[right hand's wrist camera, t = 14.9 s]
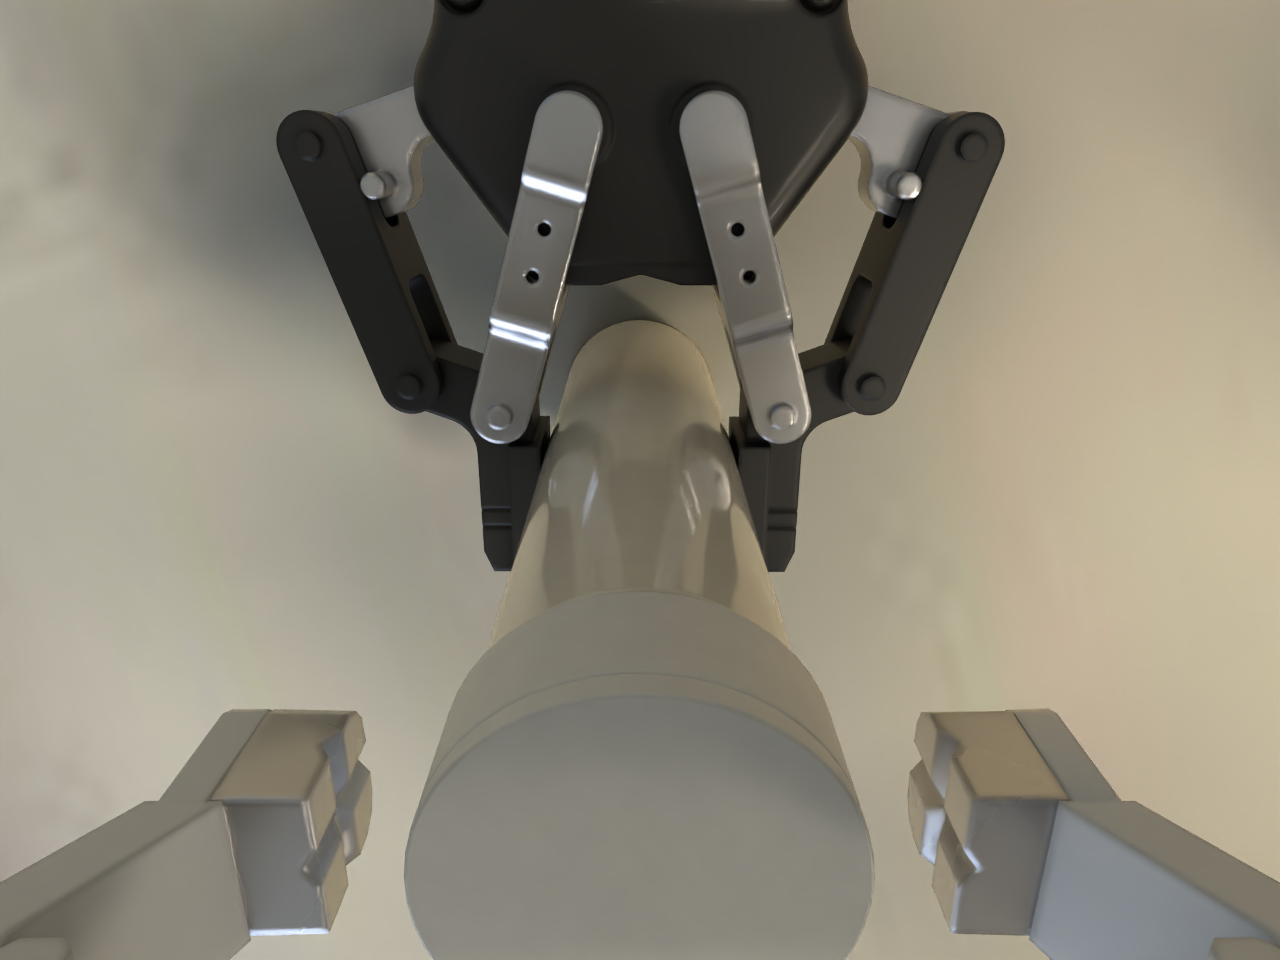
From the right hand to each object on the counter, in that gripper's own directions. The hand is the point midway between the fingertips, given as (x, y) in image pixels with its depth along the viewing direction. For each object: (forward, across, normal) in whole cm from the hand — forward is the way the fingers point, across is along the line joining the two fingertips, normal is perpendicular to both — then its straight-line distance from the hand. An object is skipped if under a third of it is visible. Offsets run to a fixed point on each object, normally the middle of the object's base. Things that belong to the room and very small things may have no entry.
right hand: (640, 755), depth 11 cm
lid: (-2, 0, 0) cm, 2 cm away
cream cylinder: (+16, 0, 0) cm, 16 cm away
